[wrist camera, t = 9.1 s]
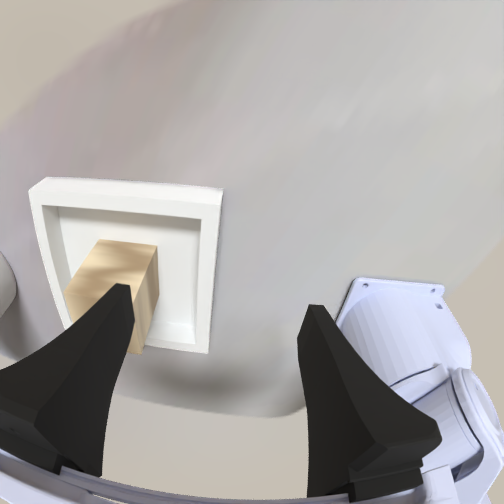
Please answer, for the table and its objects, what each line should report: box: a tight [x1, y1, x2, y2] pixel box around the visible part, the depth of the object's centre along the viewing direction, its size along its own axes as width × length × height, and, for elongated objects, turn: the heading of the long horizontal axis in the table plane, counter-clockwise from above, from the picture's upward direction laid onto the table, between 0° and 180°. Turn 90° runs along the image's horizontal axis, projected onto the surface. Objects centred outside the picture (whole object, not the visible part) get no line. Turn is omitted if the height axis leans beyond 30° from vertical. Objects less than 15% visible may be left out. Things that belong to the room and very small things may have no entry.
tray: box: [28, 177, 224, 354], centre depth 21 cm, size 13×13×2 cm
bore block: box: [63, 239, 160, 355], centre depth 19 cm, size 4×4×6 cm
